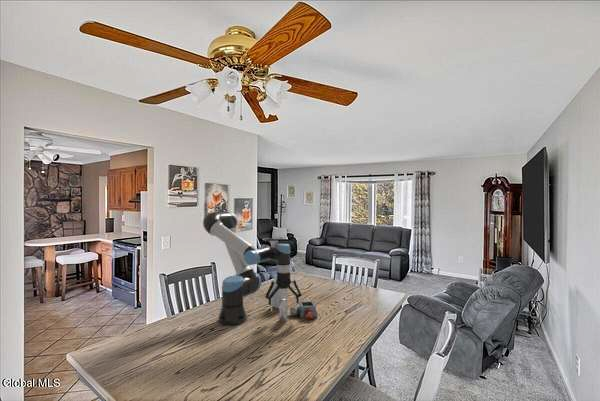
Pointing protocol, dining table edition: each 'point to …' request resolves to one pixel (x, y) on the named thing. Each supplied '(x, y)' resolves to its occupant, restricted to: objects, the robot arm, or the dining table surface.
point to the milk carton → (278, 295)
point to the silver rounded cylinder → (283, 310)
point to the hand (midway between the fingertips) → (283, 309)
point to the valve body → (305, 310)
